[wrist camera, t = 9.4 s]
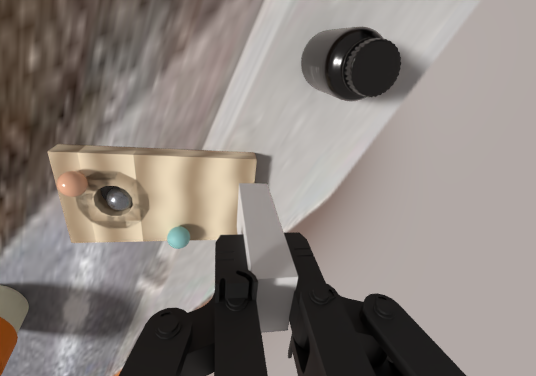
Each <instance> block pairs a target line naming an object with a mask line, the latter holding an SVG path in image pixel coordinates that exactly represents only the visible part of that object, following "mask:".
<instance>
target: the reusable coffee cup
mask: <svg viewBox="0 0 536 376" xmlns="http://www.w3.org/2000/svg"><path fill="white" fill-rule="evenodd" d="M28 310H29V304H28V302H27V300H26V298H25V297H24V296H23V295H22V294H20V293H19V292H18V291H16V290H14V289H12V288H9V287H7V286H3V285H0V376H1V374H2V372H3V370H4V368H5V366H6V364H7V362H8V360H9V358H10V355H11V353H12V351H13V349H14V347H15V345H16V343H17V338H18V337H17V333H18V331H19V329H20V327H21V325H22V323H23V321H24V319H25V317H26V315H27V313H28Z"/></svg>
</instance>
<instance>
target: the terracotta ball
mask: <svg viewBox="0 0 536 376" xmlns="http://www.w3.org/2000/svg"><path fill="white" fill-rule="evenodd" d="M56 185H57V188H58V190H59V191H60V192H61V193H62V194H63V195H65V196H69V197H76V196H79V195H81V194H83V193H84V192H85V191H86V190H87V187H88V181H87V178H86V177H85V176H84V175H83V174H82V173H80V172H77V171H68V172H65V173H63V174H61V175H60V176H59V177H58V179H57V183H56Z"/></svg>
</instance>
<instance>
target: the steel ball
mask: <svg viewBox="0 0 536 376" xmlns="http://www.w3.org/2000/svg"><path fill="white" fill-rule="evenodd" d="M106 200H107V203H108V205H109V206H110V207H111V208H112V209H114V210H118V211H121V210H126V209H128V208H129V207H130V206H131V205H132V204H133V202H132V197H131V196H130V195H129V193H128V192H127V191H126V190H124V189H122V188H120V187H114V188H112V189H111V190H110V191H109V192H108V194H107V197H106Z"/></svg>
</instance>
